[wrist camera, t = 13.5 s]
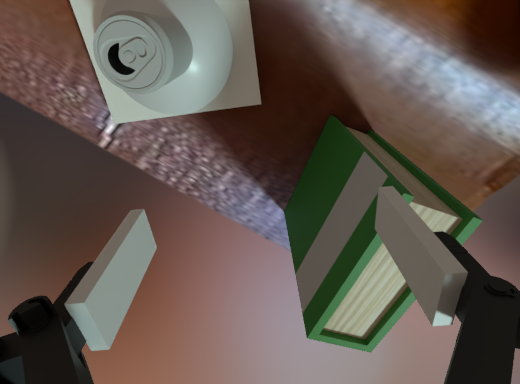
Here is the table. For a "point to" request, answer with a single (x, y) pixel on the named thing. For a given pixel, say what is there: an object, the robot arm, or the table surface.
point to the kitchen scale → (202, 65)
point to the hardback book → (358, 235)
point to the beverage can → (141, 50)
